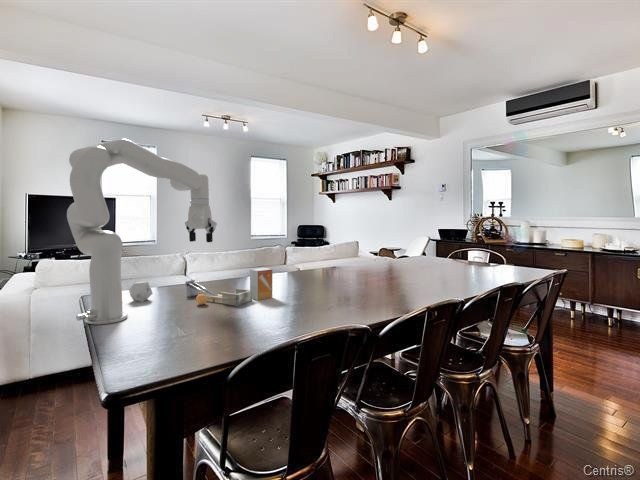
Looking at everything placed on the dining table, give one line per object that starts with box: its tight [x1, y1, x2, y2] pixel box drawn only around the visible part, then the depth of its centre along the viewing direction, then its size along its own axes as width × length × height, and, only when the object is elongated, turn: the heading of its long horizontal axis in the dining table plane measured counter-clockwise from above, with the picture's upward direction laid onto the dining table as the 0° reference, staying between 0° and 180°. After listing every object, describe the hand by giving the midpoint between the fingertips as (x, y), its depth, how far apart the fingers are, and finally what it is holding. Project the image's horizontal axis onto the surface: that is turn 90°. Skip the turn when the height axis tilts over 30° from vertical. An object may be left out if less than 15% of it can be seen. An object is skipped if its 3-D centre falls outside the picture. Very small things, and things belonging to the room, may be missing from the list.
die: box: [128, 281, 153, 303], centre depth 154 cm, size 8×9×10 cm
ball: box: [195, 293, 208, 306], centre depth 148 cm, size 4×4×4 cm
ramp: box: [184, 279, 217, 298], centre depth 161 cm, size 5×15×7 cm, turn 64°
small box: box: [249, 267, 273, 301], centre depth 160 cm, size 8×6×13 cm
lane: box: [206, 288, 253, 307], centre depth 155 cm, size 10×18×4 cm, turn 64°
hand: (201, 241), depth 158 cm, fingers open, 9 cm apart
